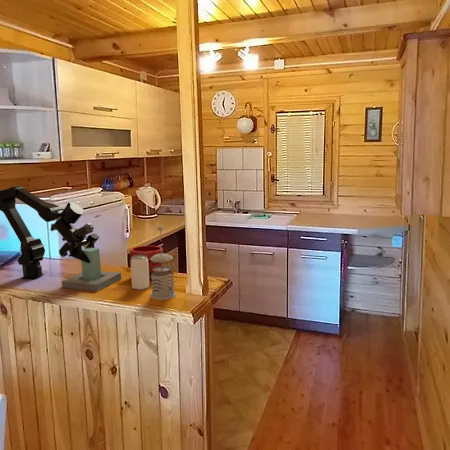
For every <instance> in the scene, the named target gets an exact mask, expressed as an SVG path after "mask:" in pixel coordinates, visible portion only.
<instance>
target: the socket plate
mask: <svg viewBox="0 0 450 450" xmlns="http://www.w3.org/2000/svg"><path fill="white" fill-rule="evenodd" d="M121 279H122V272H117V271H116V272H115V271H106V270H105V271H104V270H101V278H99V279H97V280H95V281H92V280H83V276H82V271H81V272H80V273H78V274H75V275H72V276H70V277H68V278H66V279H63V280H61V286H62V287H61V288H64V289H72V290H73V289H74V290H84V291H91V292H92V291H93V292H99V291H101V290H103V289H104V288H107V287H108V286H111V285H113V284H115V283H116V282H118V281H121Z"/></svg>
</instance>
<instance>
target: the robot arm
mask: <svg viewBox="0 0 450 450" xmlns="http://www.w3.org/2000/svg"><path fill="white" fill-rule="evenodd" d="M16 199H17V200H19V201H21V202H22V203H23V204H25V205H27V206H28V207H30V208H32V209H33V210H35V212H37V214H38V216H39V217H40V218H41V219H42V220H43V221H44V222H46V223H50V222H54V223H51V224H50V231H51V232H55V231H57V233H59V235H60V236H61V237H62V239H61V240H62V241H63V242H65V243H64V244H63V245H62V246H61V247H60V248H59V250H58V254H59V255H60V256H61V258H65V257H67V256H68V257H69V258H70V257H72V258H74V259H77V260H79V261H81V260H82V261H84V262H86V263H90V260H89V258H88V257H87V256H86V254H85V253H84V252H83V251H82V250H83V248H84V249H86V248H96V247H95V244H96V242H97V241H98V240H99V239H100V236H99V235H98V234H97V233H94V226H93V225H92V224H91V222H87V223H85V224H84V225H83V226H81V227H80V228H79V227H75V226H74V224H76V223H77V222H78V221H79V219H80V218H81V217H82V216H83V215H84V214H85V210H84V208H83V207H82V206H80V205H78V204H77V203H74V201H69V202H68V203H67V204H66V206H65V207H64V208H62V207H61V206H60V205H58V204H55V203H52V202H47V201H44V200H43V199H41V197H40V198H39V196H36V195H35V194H33V193H32V192H30V191H29V190H27V189H25V187H24V186H23V185H17V186H16V185H15V186H11V187H9V188H5V189H0V211H1V212H2V213H3V214H4V216H5V218H6V219H7V221H8V223H9V225H10V226H11V228H12V230H13V231H14V233H15V235H16V236H17V239H18V240H19V242H20V248H19V250H20V252H21V255H20V256H19V257H17V262H18V265H19V266H22V267H21V268H22V275H23V276H22V277H21V276H20V280H21V279H23V280H26V279H27V280H36V279H38V278H40V277H42V276H44V273H43V270H42V269H43V268H42V265H41V261H43V259H44V255H45V252H46V248H45V246H46V245H44V244H43V242H42V240H41V238H35V237H34V236H33V235H32V234H31V232H30V230H29V228H28V227H27V224H26V223H25V222H24V220H23V218H22V217H21V214H20V213H19V211H18V209H17V208H16ZM91 233H92V234H91ZM68 253H69V254H68Z"/></svg>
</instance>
